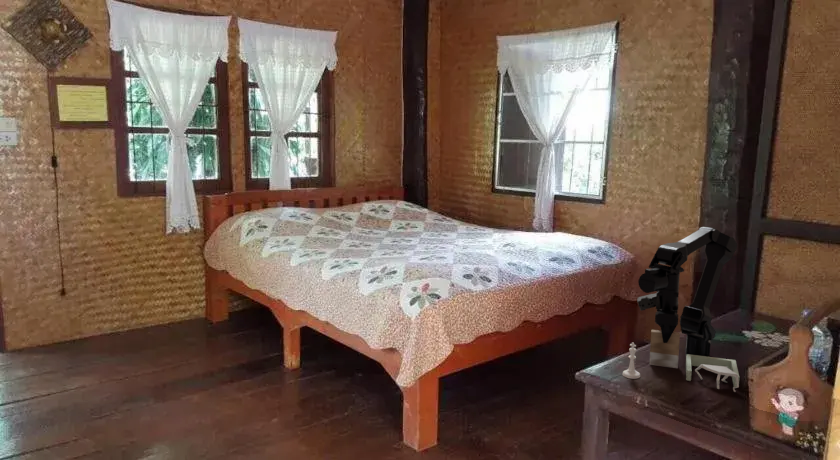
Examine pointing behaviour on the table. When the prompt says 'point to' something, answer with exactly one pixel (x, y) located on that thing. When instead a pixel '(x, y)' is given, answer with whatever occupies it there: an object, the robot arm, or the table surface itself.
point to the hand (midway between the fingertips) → (665, 337)
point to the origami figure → (719, 373)
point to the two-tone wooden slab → (664, 350)
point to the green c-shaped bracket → (698, 360)
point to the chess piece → (631, 365)
